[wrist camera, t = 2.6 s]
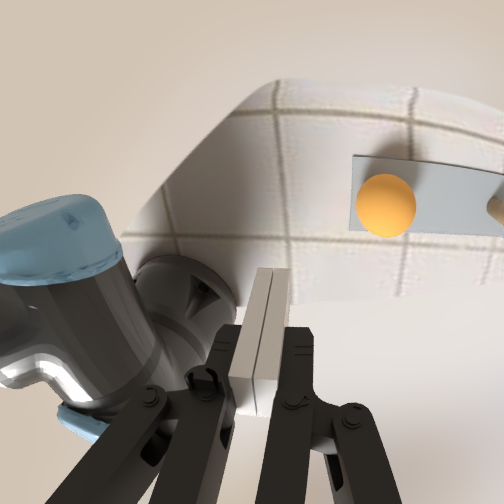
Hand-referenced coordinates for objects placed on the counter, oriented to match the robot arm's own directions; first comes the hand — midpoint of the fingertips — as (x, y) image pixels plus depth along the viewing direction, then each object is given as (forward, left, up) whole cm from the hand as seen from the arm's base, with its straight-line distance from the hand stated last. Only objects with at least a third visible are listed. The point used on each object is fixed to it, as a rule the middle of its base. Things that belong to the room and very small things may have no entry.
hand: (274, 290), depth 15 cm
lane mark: (+20, 0, -16) cm, 26 cm away
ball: (+9, 0, -13) cm, 16 cm away
